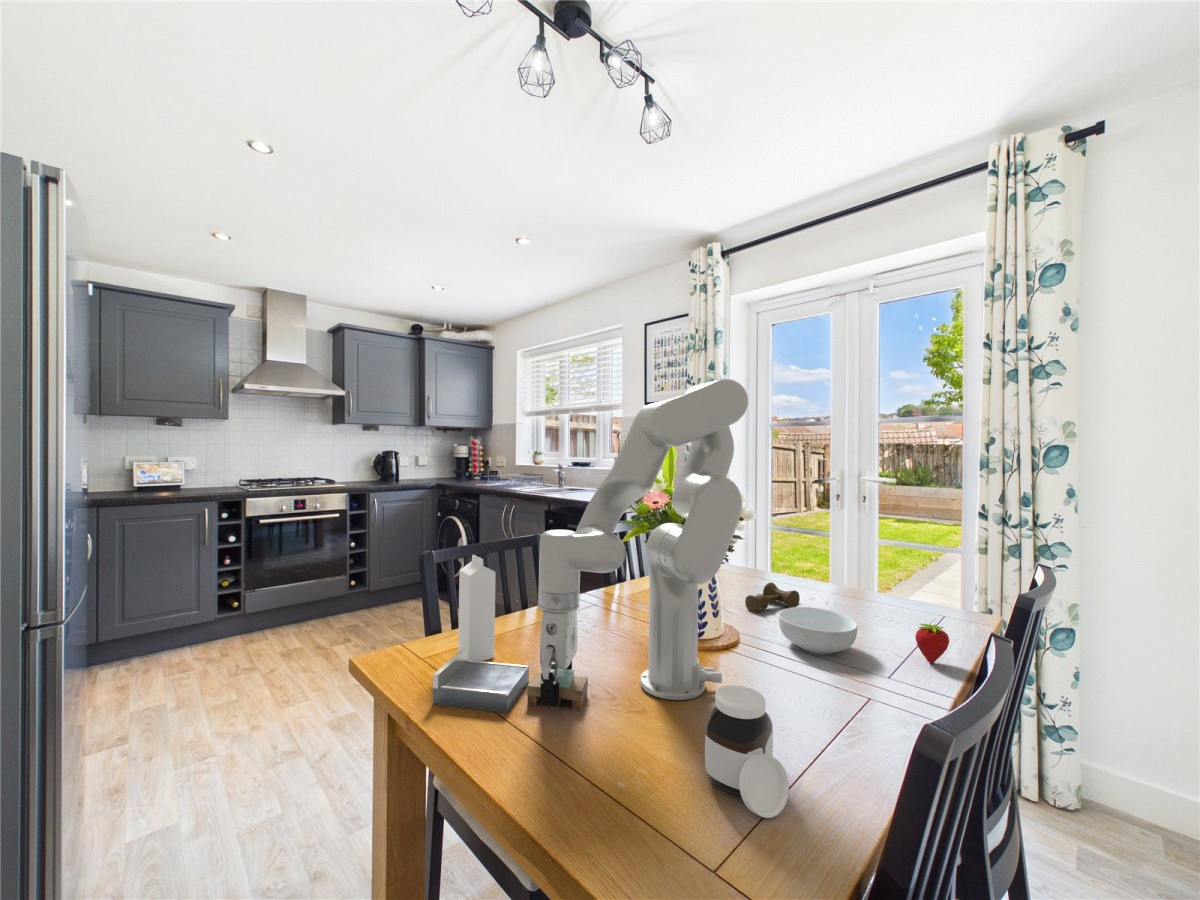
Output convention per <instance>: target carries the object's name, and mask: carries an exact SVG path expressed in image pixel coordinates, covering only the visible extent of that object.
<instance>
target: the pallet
mask: <svg viewBox="0 0 1200 900" xmlns="http://www.w3.org/2000/svg"><path fill="white" fill-rule="evenodd" d="M541 673H542V672H535V674H534V675H533V677H532V678H531V679H530V680H529V682H528V683H527V685H526V686H527V687H526V695H527V706H531V707H532V706H533V707H537V705H538V703H540V693H541ZM588 683H589V677H588V676H578V675H574V679H573V681H572V683H571V685H570V687H569V688H564V687H559V705H558V706H557V707H552V706H549V708H551V709H559V708H560V706H561V704H562V702H563V700H569V701H571V710H572V711H579V712H581V711H582V709H583V707H584V704H585V702H586V699H587V697H588V687H589V685H588Z"/></svg>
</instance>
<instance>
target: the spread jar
mask: <svg viewBox="0 0 1200 900" xmlns="http://www.w3.org/2000/svg"><path fill="white" fill-rule="evenodd" d="M714 693H715V695H714V704H715V706H714V707H713V709H712V710H711V713H710V715H709V717H708V720H707V723H706V728H705V739H704V740H705V741H704V765H705V767H704V768H705V771H706V773H707V776H708V777H709V779H711V780H712V781H713V782H714V783H715V785H717V786H718V787H720V788H721V789H723V790H724V791H726V792H728V793H730V794H733V795H736V796H740V797H741V799H742V801H743V803H744V805H745V806H746V807H747V809H748V810H749V811H751V812H752V813H754V814H756V815H758V816H760V817H762V818H765V819H771V818H774V817H777V816H778V815H779V814H781V812H782V811H783V810H784V808H785V807H786V805H787V801H788V799H789V792H790V791H789V790H790V786H789V779H788V778H789V777H788V775H787V771H786V769H785V768H784V765H783V764H782V763H781V762H780V761H779V759H778V758H776V757H774V756H773V755H774V754H773V753H774V750H773V749H774V747H773V746H774V745H773V744H774V730H773V721H772V719H771V717H770V715H769V714H768V713H767V712H766V698H765V697H764V695H763V694H761V693H760V692H759V691H757V690H755V689H753V688H751V687H747V686H743V685H734V684H732V685H724V686H721V687H718V688H717V689H716V691H715V692H714Z"/></svg>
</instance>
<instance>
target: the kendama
mask: <svg viewBox="0 0 1200 900" xmlns="http://www.w3.org/2000/svg"><path fill="white" fill-rule="evenodd" d="M776 601H778V602H780V603H783V604H784V605H785V606H786V607H787V608H792V607H796V606H797V607H799V604H800V593H799V591H798V590H788V591H787V590H785V591H784V590H781V589H779V588H778V586H777V584H775V583H774V582H768V583H766V584H765V585H764V587H763V590H762V593H758V594H756V595H753V594H749V595H746V597H745V601H744V602H745V607H746V609H747V611H749V612H750V611H751V612H750V613H753V612H755V613H754V614H757V613H759V612H760V610H767V608H768V607H769V605H770V604H771V603H774V602H776Z"/></svg>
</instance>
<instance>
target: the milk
mask: <svg viewBox="0 0 1200 900" xmlns="http://www.w3.org/2000/svg"><path fill="white" fill-rule="evenodd" d="M458 578H459V579H458V581H459V583H458V584H459V585H458V586H459V587H458V640H457V641H458V645H457V647H458V649H457V651H458V652H459V651H460V650H461V649H462V648H467V660H472V661H482V662H484V661H486V660H490V659H494V658H495V639H496V638H495V637H496V636H495V635H496V634H495V633H496V632H495V631H496V630H495V629H496V623H495V622H496V571H495V570H492V569H491V568H488V567H486V566H484V558H481V557H479V556H477V555H475V554H472V556H471V561H470V562H468V563H467V564H466V565H465V566H463V567H462V568H460V569H459V577H458ZM458 652H457V653H458Z"/></svg>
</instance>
